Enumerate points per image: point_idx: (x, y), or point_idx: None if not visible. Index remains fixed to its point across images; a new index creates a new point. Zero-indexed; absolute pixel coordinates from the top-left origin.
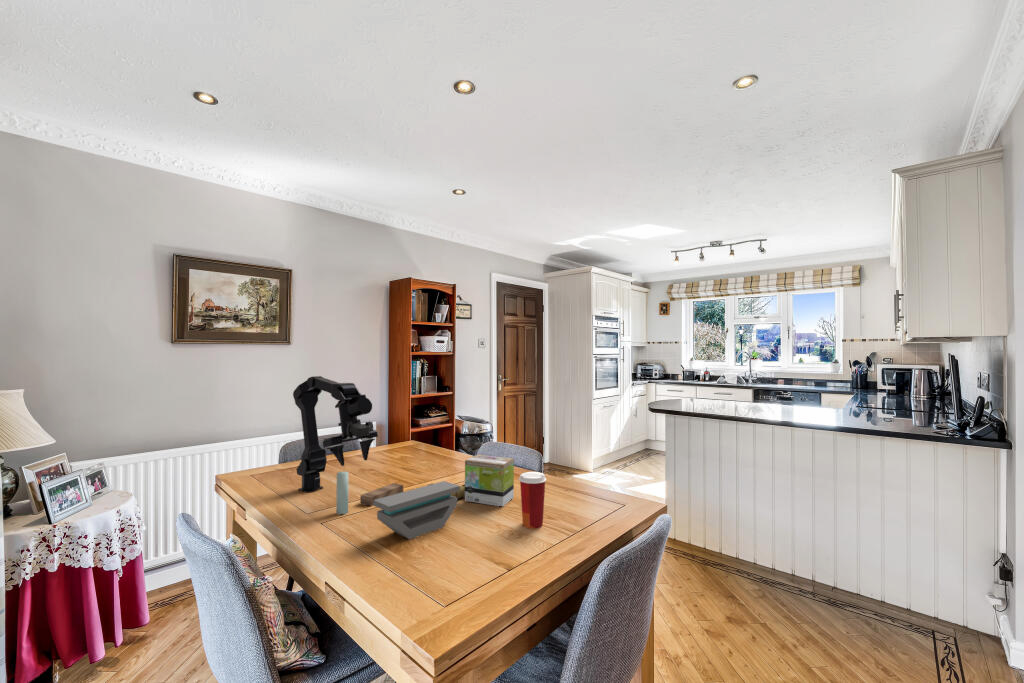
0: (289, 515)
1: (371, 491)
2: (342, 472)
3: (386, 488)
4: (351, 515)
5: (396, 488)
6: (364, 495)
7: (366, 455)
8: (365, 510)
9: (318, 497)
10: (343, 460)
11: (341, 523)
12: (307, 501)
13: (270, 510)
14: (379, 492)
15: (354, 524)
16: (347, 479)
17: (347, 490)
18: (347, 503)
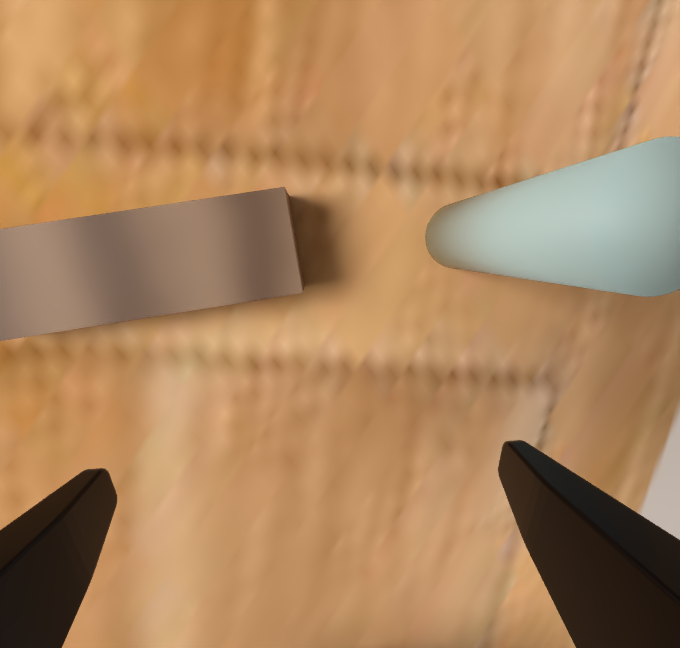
0: (614, 424)
1: (203, 303)
2: (645, 242)
3: (84, 273)
4: (450, 157)
5: (18, 227)
6: (287, 265)
7: (45, 521)
8: (351, 161)
9: (380, 559)
10: (565, 487)
11: (558, 90)
12: (448, 543)
13: None
14: (177, 233)
15: (532, 5)
16: (581, 162)
17: (512, 185)
18: (467, 199)
